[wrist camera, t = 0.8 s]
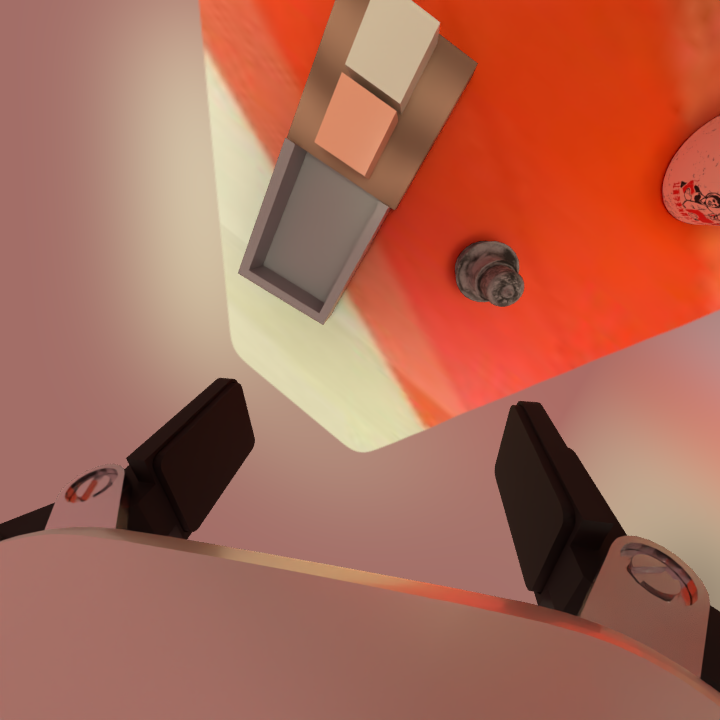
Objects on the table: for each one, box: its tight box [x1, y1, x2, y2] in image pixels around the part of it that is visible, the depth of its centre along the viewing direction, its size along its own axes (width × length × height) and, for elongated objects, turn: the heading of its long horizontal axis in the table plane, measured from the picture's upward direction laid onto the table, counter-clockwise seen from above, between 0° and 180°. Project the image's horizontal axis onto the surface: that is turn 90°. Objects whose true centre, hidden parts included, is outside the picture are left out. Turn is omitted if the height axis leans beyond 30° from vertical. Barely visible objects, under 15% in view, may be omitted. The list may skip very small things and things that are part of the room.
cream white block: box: [345, 0, 440, 115], centre depth 23 cm, size 5×5×3 cm
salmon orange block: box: [314, 72, 398, 179], centre depth 25 cm, size 5×5×3 cm
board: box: [287, 0, 478, 210], centre depth 27 cm, size 12×12×2 cm
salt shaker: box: [455, 241, 524, 307], centre depth 27 cm, size 6×6×12 cm
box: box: [238, 138, 391, 325], centre depth 32 cm, size 14×11×4 cm
